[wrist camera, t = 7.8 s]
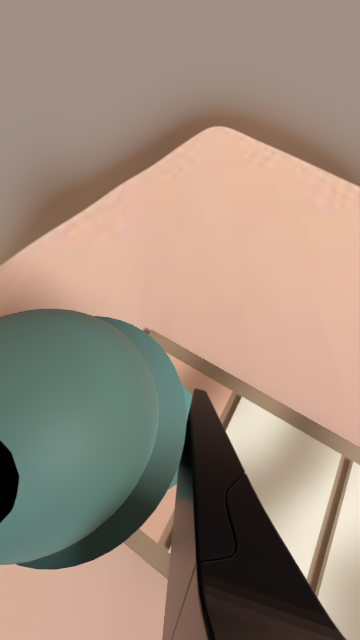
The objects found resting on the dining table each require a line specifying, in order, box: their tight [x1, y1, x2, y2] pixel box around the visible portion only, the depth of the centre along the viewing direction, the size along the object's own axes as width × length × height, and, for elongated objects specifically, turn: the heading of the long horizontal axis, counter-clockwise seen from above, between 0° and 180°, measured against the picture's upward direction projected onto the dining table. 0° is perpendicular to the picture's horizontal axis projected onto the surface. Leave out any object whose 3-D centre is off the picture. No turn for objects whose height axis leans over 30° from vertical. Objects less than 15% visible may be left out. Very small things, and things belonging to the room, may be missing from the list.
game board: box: [124, 330, 360, 640], centre depth 14 cm, size 22×11×1 cm, turn 59°
